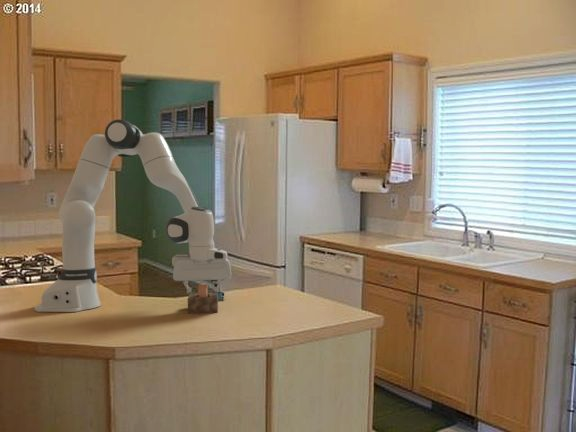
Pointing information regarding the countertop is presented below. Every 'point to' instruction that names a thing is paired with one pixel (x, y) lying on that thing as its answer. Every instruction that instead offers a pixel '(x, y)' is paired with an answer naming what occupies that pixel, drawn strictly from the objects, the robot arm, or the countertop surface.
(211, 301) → the socket block
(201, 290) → the dowel
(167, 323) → the countertop surface
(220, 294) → the push button
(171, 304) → the countertop surface
